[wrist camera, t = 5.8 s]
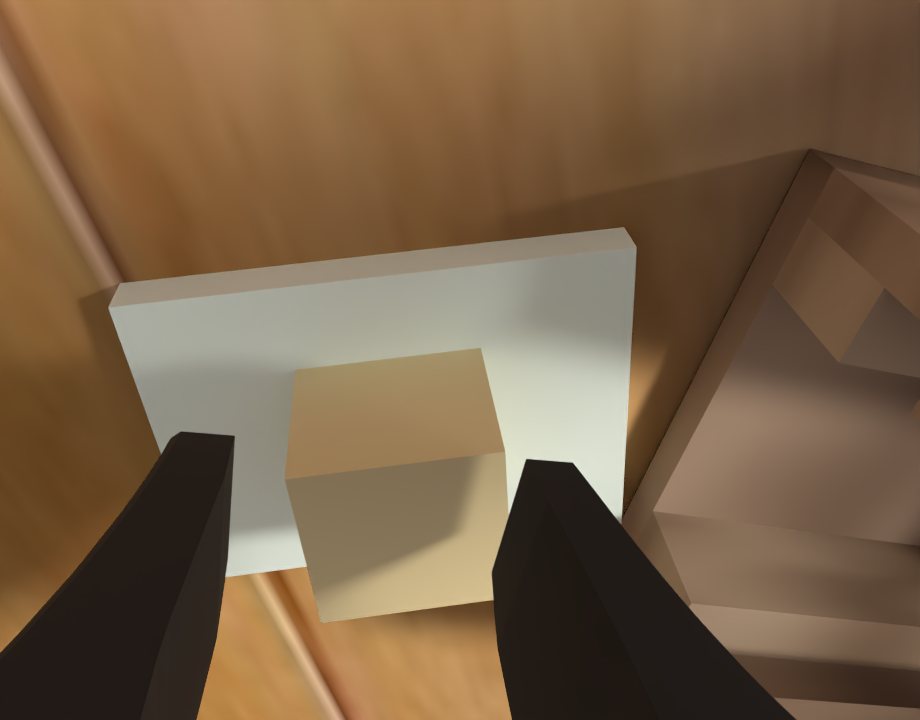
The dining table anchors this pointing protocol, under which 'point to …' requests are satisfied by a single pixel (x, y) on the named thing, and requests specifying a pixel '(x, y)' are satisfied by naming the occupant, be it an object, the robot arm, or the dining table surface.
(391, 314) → the cover plate
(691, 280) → the dining table surface
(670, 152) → the dining table surface
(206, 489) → the robot arm
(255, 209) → the dining table surface
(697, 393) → the walnut box
